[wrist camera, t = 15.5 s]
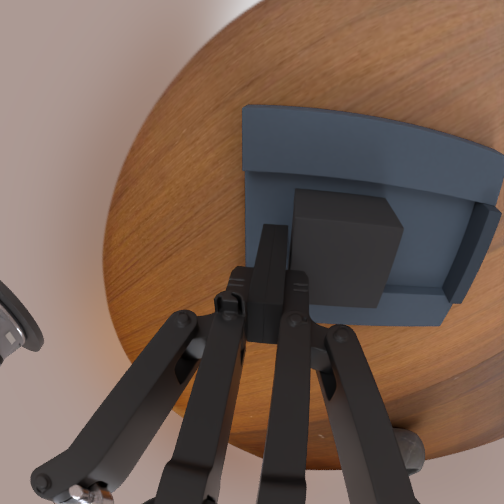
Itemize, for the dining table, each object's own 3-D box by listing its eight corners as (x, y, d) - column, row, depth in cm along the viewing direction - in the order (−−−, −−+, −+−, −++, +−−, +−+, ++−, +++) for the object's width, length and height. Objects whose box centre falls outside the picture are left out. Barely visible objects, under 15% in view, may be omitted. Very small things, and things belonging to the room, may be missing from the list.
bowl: (336, 430, 41) (335, 481, 33) (420, 409, 35) (427, 462, 27) (354, 448, 47) (353, 488, 39) (421, 432, 42) (425, 473, 34)
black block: (288, 264, 21) (285, 303, 18) (294, 187, 18) (294, 216, 14) (366, 271, 20) (376, 309, 17) (385, 197, 17) (404, 228, 14)
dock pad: (247, 300, 25) (242, 325, 23) (247, 104, 16) (238, 109, 13) (433, 311, 23) (442, 334, 21) (494, 149, 14) (517, 162, 11)
